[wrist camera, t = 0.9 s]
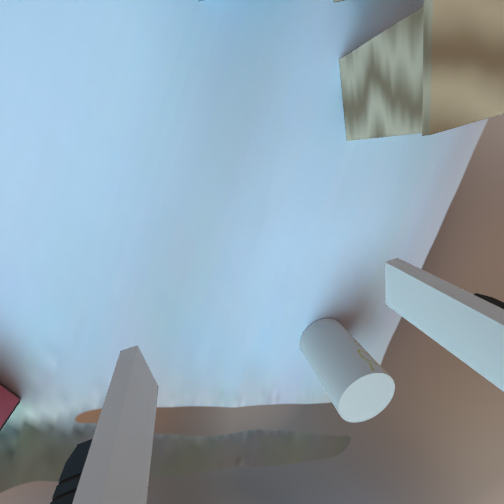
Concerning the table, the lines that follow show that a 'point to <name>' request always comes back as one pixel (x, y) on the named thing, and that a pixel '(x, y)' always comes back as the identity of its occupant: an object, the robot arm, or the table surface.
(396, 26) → the cabinet
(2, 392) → the puzzle cube
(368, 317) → the table surface
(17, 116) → the table surface
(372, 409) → the cup
